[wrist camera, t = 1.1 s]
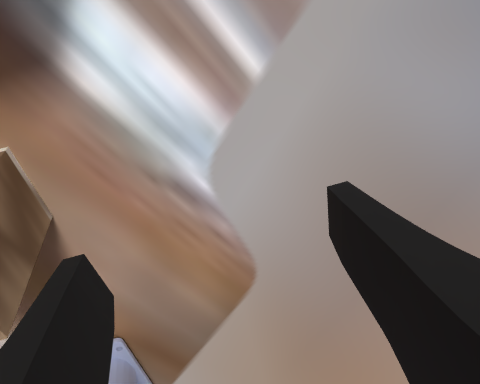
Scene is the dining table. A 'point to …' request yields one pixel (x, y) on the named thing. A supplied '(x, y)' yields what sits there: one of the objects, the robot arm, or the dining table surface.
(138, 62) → the dining table surface
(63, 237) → the dining table surface
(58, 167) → the dining table surface
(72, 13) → the dining table surface
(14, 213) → the walnut block
